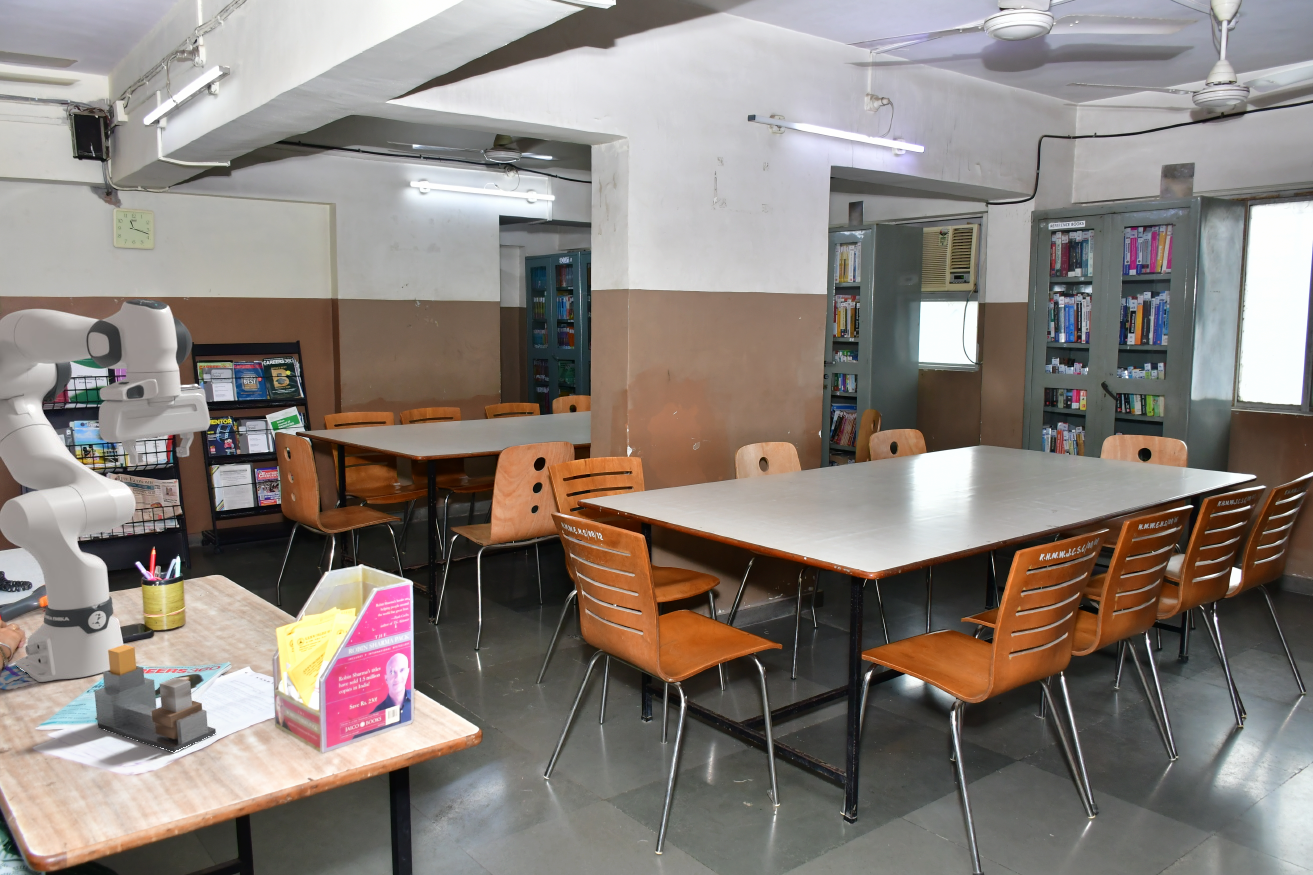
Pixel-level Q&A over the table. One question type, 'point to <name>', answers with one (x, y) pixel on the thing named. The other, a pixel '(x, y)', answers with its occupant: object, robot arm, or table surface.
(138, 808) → the table surface
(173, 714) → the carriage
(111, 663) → the orange block
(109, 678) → the grey stepped block fixture
